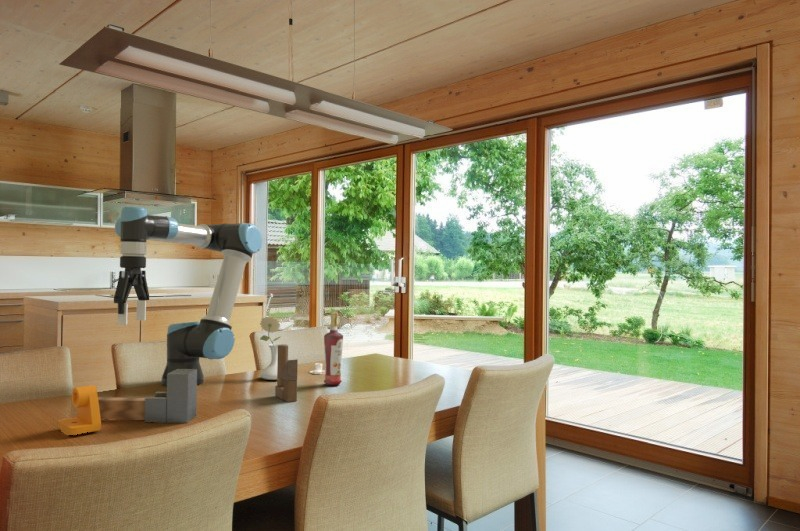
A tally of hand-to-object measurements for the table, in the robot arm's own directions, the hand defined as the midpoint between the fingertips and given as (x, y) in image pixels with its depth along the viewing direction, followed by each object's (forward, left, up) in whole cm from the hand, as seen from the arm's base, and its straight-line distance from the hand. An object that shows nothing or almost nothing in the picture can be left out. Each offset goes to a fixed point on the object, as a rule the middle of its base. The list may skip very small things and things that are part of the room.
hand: (132, 322), depth 182 cm
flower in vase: (-46, +36, -27) cm, 64 cm away
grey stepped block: (+14, +18, -27) cm, 35 cm away
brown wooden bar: (+14, +6, -27) cm, 31 cm away
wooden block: (-13, +47, -27) cm, 56 cm away
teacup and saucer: (-60, +50, -27) cm, 83 cm away
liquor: (-36, +61, -27) cm, 76 cm away
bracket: (+27, -2, -27) cm, 38 cm away
